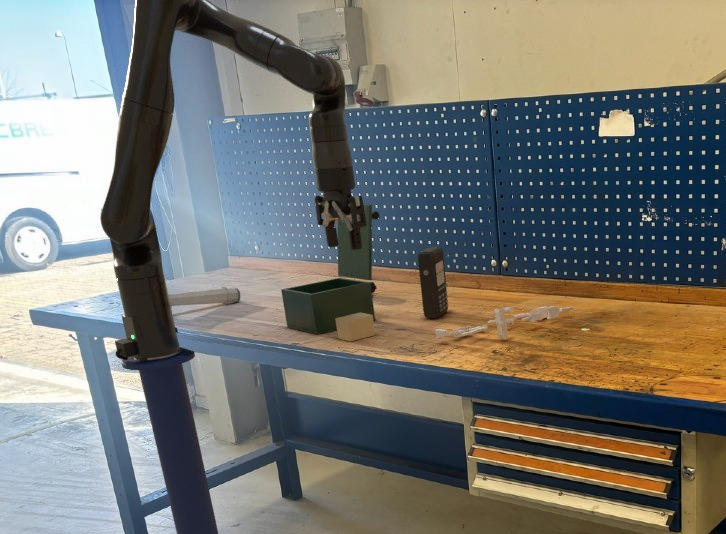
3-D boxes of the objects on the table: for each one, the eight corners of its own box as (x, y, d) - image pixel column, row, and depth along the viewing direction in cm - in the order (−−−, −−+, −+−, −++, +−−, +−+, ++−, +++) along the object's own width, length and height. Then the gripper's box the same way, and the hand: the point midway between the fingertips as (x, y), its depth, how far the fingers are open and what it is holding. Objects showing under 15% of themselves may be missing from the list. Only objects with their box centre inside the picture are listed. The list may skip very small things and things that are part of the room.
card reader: (439, 319, 193) (433, 252, 187) (422, 319, 193) (415, 253, 188) (450, 310, 201) (444, 246, 195) (434, 310, 202) (428, 246, 196)
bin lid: (369, 204, 188) (389, 206, 192) (337, 203, 196) (357, 204, 200) (368, 280, 192) (389, 279, 196) (337, 275, 201) (357, 275, 205)
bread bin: (316, 334, 186) (310, 294, 183) (287, 327, 194) (281, 289, 191) (375, 320, 196) (370, 282, 193) (344, 314, 204) (339, 277, 201)
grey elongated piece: (468, 350, 161) (423, 352, 169) (574, 322, 187) (531, 325, 195) (462, 316, 160) (418, 320, 168) (571, 292, 186) (527, 297, 193)
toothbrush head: (241, 287, 226) (149, 291, 208) (242, 312, 228) (151, 319, 209) (230, 285, 229) (139, 289, 211) (232, 310, 231) (141, 317, 213)
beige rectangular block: (350, 341, 178) (347, 320, 177) (338, 338, 181) (335, 318, 180) (375, 335, 182) (372, 314, 181) (362, 332, 185) (360, 312, 184)
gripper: (298, 167, 172) (310, 248, 177) (337, 166, 162) (349, 253, 168) (329, 164, 176) (340, 243, 182) (369, 163, 167) (380, 247, 173)
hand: (344, 248), depth 175 cm, fingers open, 8 cm apart
